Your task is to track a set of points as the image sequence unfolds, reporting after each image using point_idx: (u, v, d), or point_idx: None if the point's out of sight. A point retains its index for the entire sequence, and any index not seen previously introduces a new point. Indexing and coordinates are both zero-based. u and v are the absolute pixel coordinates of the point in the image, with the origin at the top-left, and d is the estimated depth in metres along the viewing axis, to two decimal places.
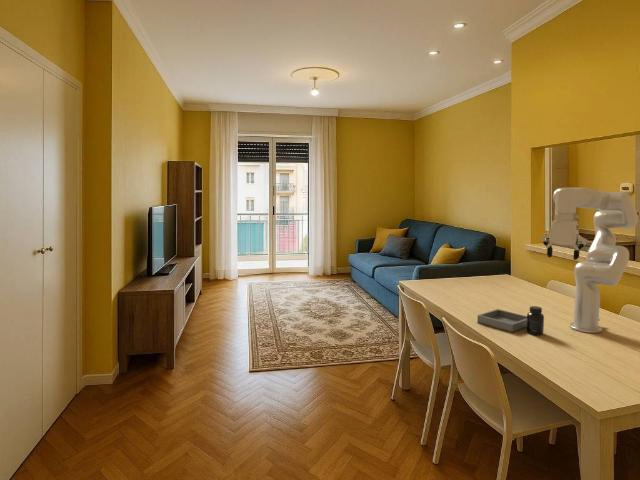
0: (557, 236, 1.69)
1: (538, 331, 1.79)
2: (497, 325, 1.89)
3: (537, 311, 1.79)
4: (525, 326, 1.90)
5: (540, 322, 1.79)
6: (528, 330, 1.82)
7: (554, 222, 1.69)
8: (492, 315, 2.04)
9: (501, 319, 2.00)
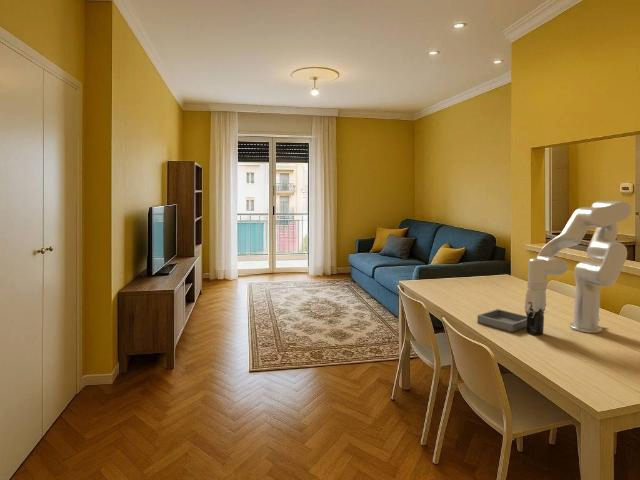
0: (539, 304, 1.79)
1: (538, 331, 1.79)
2: (497, 325, 1.89)
3: None
4: (525, 326, 1.90)
5: (540, 322, 1.79)
6: (528, 330, 1.82)
7: (537, 292, 1.77)
8: (492, 315, 2.04)
9: (501, 319, 2.00)
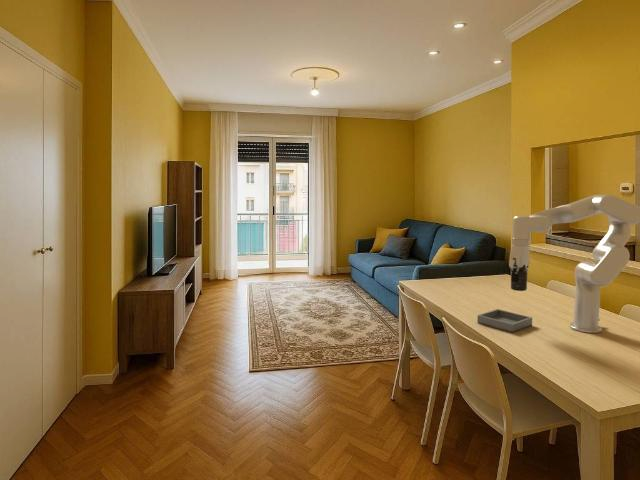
0: (523, 260, 1.83)
1: (522, 286, 1.84)
2: (497, 325, 1.89)
3: (521, 267, 1.84)
4: (525, 326, 1.90)
5: (523, 278, 1.84)
6: (512, 286, 1.87)
7: (521, 248, 1.82)
8: (492, 315, 2.04)
9: (501, 319, 2.00)
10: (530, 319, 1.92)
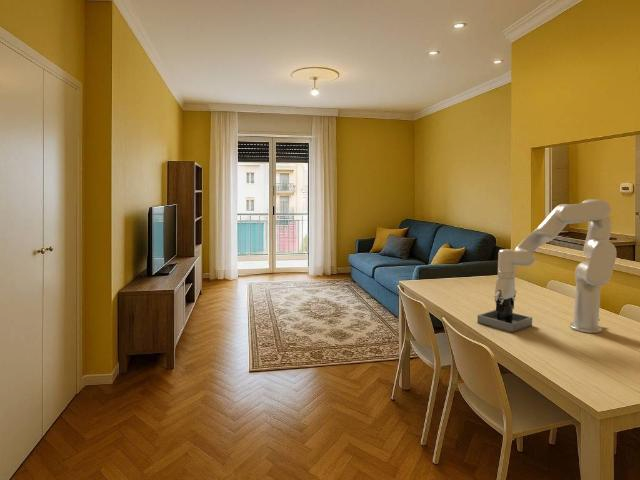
0: (508, 292, 1.91)
1: (507, 320, 1.92)
2: (497, 325, 1.89)
3: (506, 302, 1.92)
4: (525, 326, 1.90)
5: (508, 313, 1.91)
6: None
7: (506, 280, 1.89)
8: (492, 315, 2.04)
9: None
10: (530, 319, 1.92)
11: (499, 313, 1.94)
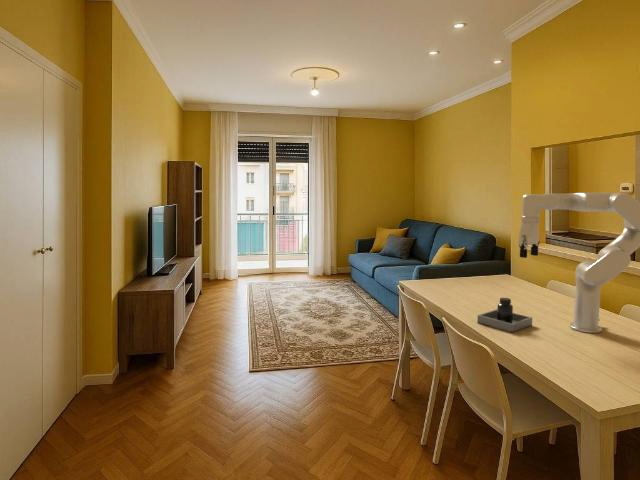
0: (533, 237, 1.88)
1: (507, 320, 1.92)
2: (497, 325, 1.89)
3: (506, 302, 1.92)
4: (525, 326, 1.90)
5: (508, 313, 1.91)
6: None
7: (531, 225, 1.86)
8: (492, 315, 2.04)
9: None
10: (530, 319, 1.92)
11: (499, 313, 1.94)
